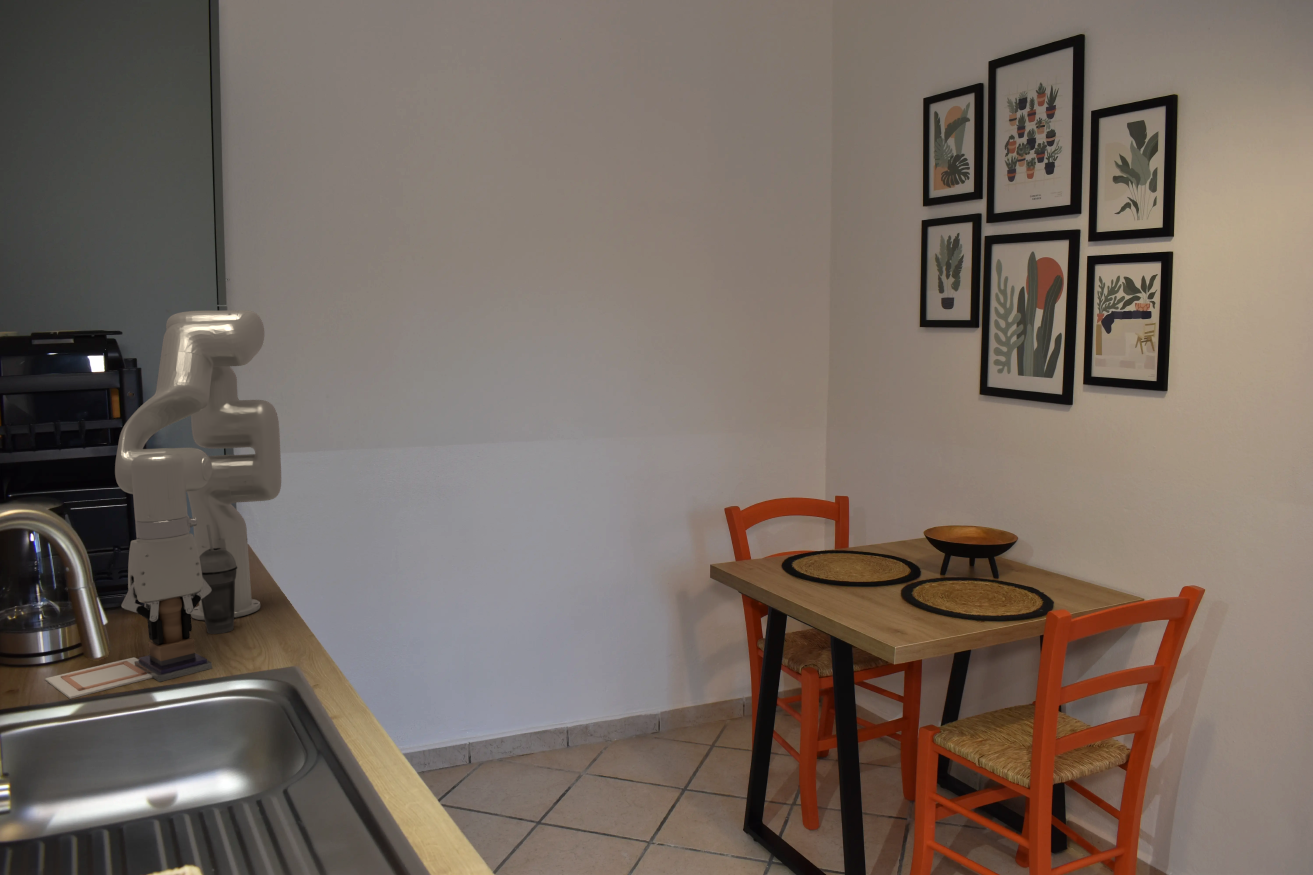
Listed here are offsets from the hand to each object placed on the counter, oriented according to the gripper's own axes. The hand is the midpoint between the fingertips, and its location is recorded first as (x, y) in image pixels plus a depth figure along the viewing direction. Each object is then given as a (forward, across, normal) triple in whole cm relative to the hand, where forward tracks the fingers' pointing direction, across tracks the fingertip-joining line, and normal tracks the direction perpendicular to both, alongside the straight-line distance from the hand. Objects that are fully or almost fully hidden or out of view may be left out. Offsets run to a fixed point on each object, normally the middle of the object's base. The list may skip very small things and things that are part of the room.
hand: (171, 638), depth 150 cm
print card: (+5, +9, -4) cm, 11 cm away
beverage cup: (+5, -14, -16) cm, 22 cm away
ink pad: (+5, 0, 0) cm, 5 cm away
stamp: (+3, 0, 0) cm, 3 cm away
